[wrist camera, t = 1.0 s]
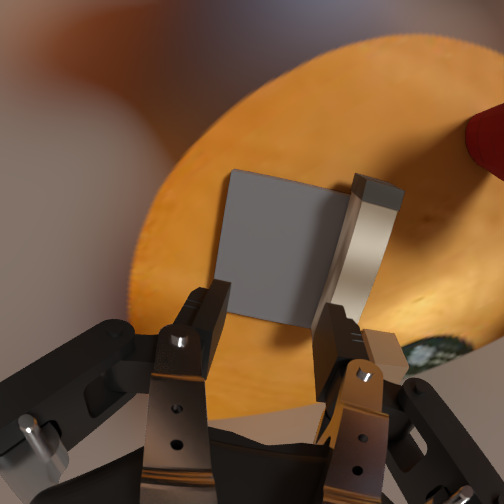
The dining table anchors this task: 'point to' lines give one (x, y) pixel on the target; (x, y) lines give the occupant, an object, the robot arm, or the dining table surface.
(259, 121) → the dining table surface
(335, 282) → the folding leg
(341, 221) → the grey slab beige block
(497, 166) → the plastic cup
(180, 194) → the dining table surface
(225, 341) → the dining table surface
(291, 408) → the dining table surface
